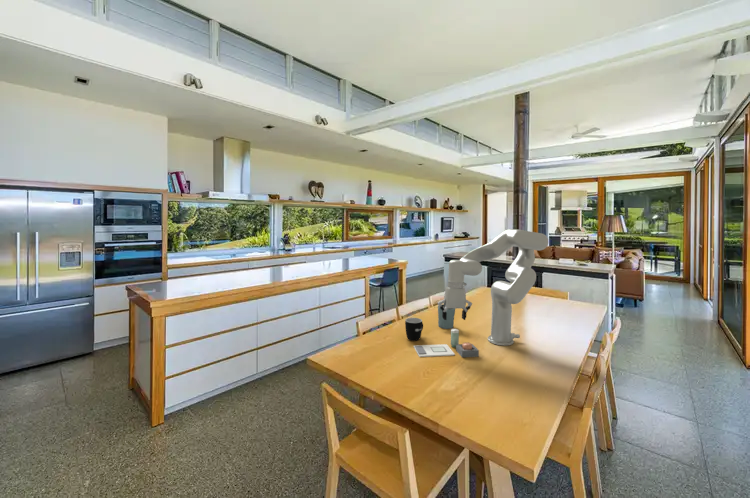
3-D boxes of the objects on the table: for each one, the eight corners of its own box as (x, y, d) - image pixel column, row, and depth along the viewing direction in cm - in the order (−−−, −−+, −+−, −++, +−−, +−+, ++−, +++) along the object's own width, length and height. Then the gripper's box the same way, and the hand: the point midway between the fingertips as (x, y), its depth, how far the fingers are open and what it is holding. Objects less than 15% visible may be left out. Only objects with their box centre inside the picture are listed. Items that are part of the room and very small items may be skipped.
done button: (469, 348, 161) (470, 342, 161) (473, 352, 157) (473, 345, 157) (461, 348, 161) (461, 342, 160) (464, 352, 156) (464, 346, 156)
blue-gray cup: (441, 322, 204) (442, 303, 203) (457, 325, 198) (458, 306, 197) (434, 327, 196) (434, 307, 194) (450, 330, 190) (451, 310, 188)
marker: (456, 344, 170) (457, 328, 169) (459, 347, 166) (460, 331, 165) (449, 344, 169) (450, 329, 168) (452, 347, 165) (452, 331, 165)
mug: (414, 343, 171) (414, 324, 170) (401, 338, 178) (401, 320, 177) (429, 337, 180) (429, 319, 178) (416, 333, 186) (416, 315, 185)
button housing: (471, 349, 163) (472, 343, 163) (478, 356, 155) (478, 350, 155) (456, 350, 162) (456, 344, 162) (461, 357, 155) (462, 351, 154)
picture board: (446, 345, 169) (446, 343, 169) (454, 355, 157) (454, 353, 157) (413, 346, 167) (413, 344, 167) (419, 356, 155) (419, 354, 155)
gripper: (469, 283, 169) (468, 316, 171) (436, 283, 167) (435, 317, 169) (475, 286, 161) (473, 321, 163) (440, 286, 160) (439, 321, 161)
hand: (454, 319), depth 166 cm, fingers open, 9 cm apart
